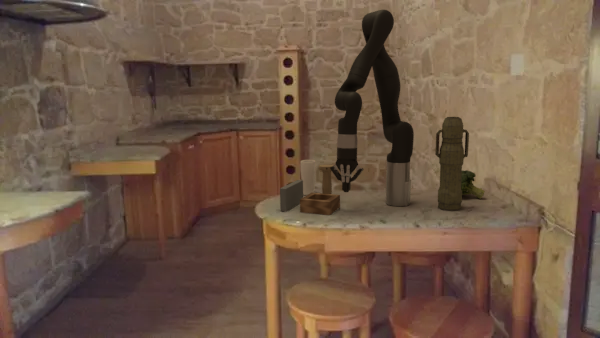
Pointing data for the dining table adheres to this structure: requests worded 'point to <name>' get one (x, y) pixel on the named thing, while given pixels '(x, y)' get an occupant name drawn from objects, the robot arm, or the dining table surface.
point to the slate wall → (291, 195)
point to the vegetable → (470, 185)
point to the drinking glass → (308, 175)
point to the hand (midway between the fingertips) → (346, 191)
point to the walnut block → (320, 203)
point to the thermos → (451, 163)
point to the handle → (326, 179)
